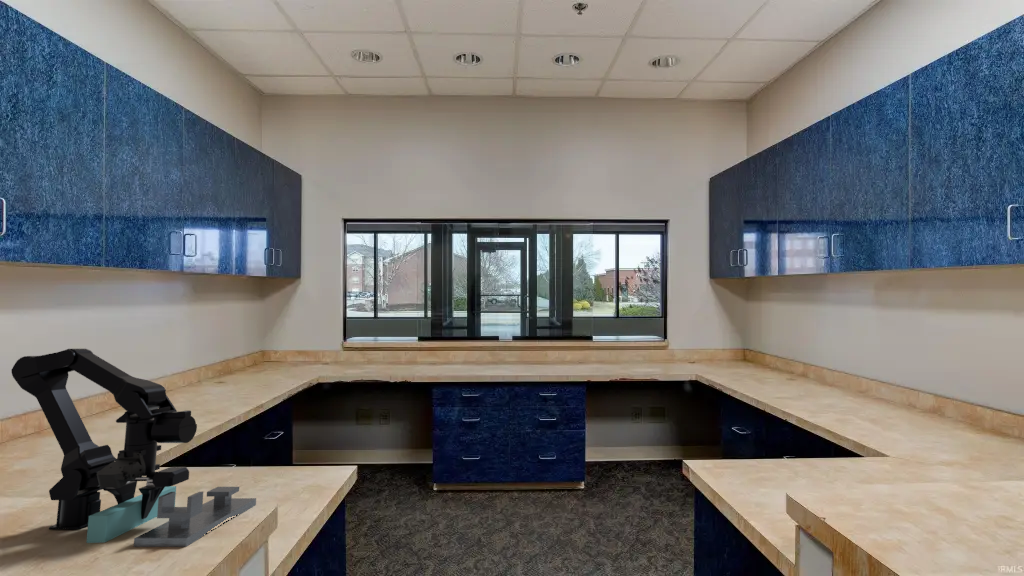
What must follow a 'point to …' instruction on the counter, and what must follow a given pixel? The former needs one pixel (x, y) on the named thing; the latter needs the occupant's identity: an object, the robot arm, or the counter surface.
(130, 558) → the counter surface
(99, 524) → the teal rail
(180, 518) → the bracket stand
